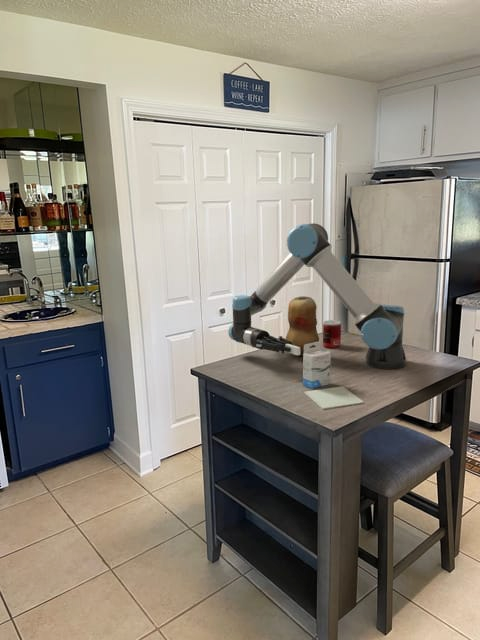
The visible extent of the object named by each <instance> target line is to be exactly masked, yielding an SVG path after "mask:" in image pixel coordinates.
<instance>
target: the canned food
mask: <svg viewBox="0 0 480 640" xmlns="http://www.w3.org/2000/svg"><path fill="white" fill-rule="evenodd" d="M341 338H342V322H341V321H339V320H334V319H333V320H331V319H330V320H329V319H328V320H325V321H323V323H322V347H323V348H325V349H329V350H331V349H332V350H334V349H335V350H336V349H339V348H340V347H341V341H342V340H341Z"/></svg>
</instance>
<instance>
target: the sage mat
mask: <svg viewBox="0 0 480 640" xmlns="http://www.w3.org/2000/svg"><path fill="white" fill-rule="evenodd" d="M303 393H304V394H305V395H306V396H307V397H309V399H311V400H312V401H313V402H314V403H315V404H316V405H317V406H319V407H320V408H321V409H322V410H329V409H336V408H342V407H348V406H354V405H360V404H365V401H363V400H362V399H361V398H359V397H358V396H356V395H355V394H353V393H352V392H351V391H349V390H348V389H347V388H345V387H344V386H337V387H331V388H330V387H329V388H322V389H314V390H313V389H312V390H308V391H307V390H306V391H304V392H303Z"/></svg>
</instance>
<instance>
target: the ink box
mask: <svg viewBox="0 0 480 640" xmlns="http://www.w3.org/2000/svg"><path fill="white" fill-rule="evenodd" d="M322 344H323V341H322V340H319V342H314V343H309V344H305V345H304V353H303V357H302V359H303V360H302V361H303V363H302V385H303V386H304V387H307V388H309V389H311V390H313V389H314V390H315V389H317V388H320V387H321V388H322V387H324V386H327V385H330V384H331V383H330V380H331V356H332V355H331V353H332V352H331V351H328V350H325V349H322ZM312 345H316V347H313V348H310V346H312Z"/></svg>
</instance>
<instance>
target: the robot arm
mask: <svg viewBox="0 0 480 640" xmlns="http://www.w3.org/2000/svg"><path fill="white" fill-rule="evenodd" d="M286 238H287V239H286V247H287V250H288V251H289V253H288V254H287V256H285V257H284V259H282V261H281V262H280V263H279V264H278V265H277V266H276V267H275V268H274V270H273V271H272V272H271V273H270V274H269V275H268V276H267V277H266V279H264V280H263V282H262V283H261V284H260V285H259V286H258V287H257V288H256V290H255V291H254V292H253V293H252V294H250V296H249V295H244V294H243V295H242V294H241V295H235V296H233V298H232V306H231V307H232V324H231V325H230V326H229V328H228V332H227V333H228V337H229V338H230V339H231V340H233V341H235V342H237V343H240V344H243V345H246V346H250V347H251V348H255V349H257V350H265V351H270V352H275V353H280V352H281V354H285V352H286V353H288V354H292V355H293V354H294V356H296V355H300V347H297V346H294V345H292V342H291V341H288V340H286V338H284V337H283V336H282V335H280V336H278V338H277V337H275V336H273V335H270V333H269V332H268V331H266V330H264V329H259V328H256V327H254V326H252V316H254V315H256V314H257V313H260V312H262V311H264V309H266V308H267V305H268V304H269V302H270V301H271V300H272V299H273V298H274V297H275V296H276V295H277V294H278V293H279V292H280V291H281V290H282V288H284V287H285V286H286V285H287V283H289V281H291V279H293V278H294V276H295V275H296V274H297V273H298V272H299V271H300V270H301V269H302V268H303V267H304V266H305V267H308V268H313V269H314V271H315V272H316V273H317V274H318V276H320V278H321V279H322V280H323V281H324V283H325V284H326V285H327V286H328V287H329V289H330V290H331V291H332V292H333V294H335V297H336V298H338V300H339V301H340V303H342V304H343V306H344V307H345V308H346V310H347V311H348V312H349V313H350V314H351V315H352V316H353V317H354V326H355V327H356V328H357V329H358V331H359V332H360V336H361V339H362V341H363V342H364V344H365V346H368V350H367V352H366V354H365V363H366V365H368V366H370V367H373V368H377V369H383V370H385V369H387V370H394V369H401V368H404V367H405V366H406V365H407V357H406V353H405V350H404V347H403V336H404V321H405V320H404V316H405V308H404V306H402V305H396V304H395V305H394V304H381V303H376V302H374V301H373V300H372V299H371V297H370V296H369V295H368V294H367V293H366V292H365V290H364V289H363V288H362V287H361V286H360V284H359V283H358V282H357V281H356V280H355V278H353V276H352V275H351V274H350V273H349V271H348V270H347V269H346V268H345V267H344V265H343V264H342V263H341V261H339V259H337V257H336V255H334V254H333V252H332V245H331V244H330V242H329V233H328V231H327V230H326V229H325V228H324V226H322V225H320V224H319V223H306V224H305V223H302V224H299V225H297V226H295V227H294V228H292V229H291V230H290V231H289V233H288V235H287V237H286Z"/></svg>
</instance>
